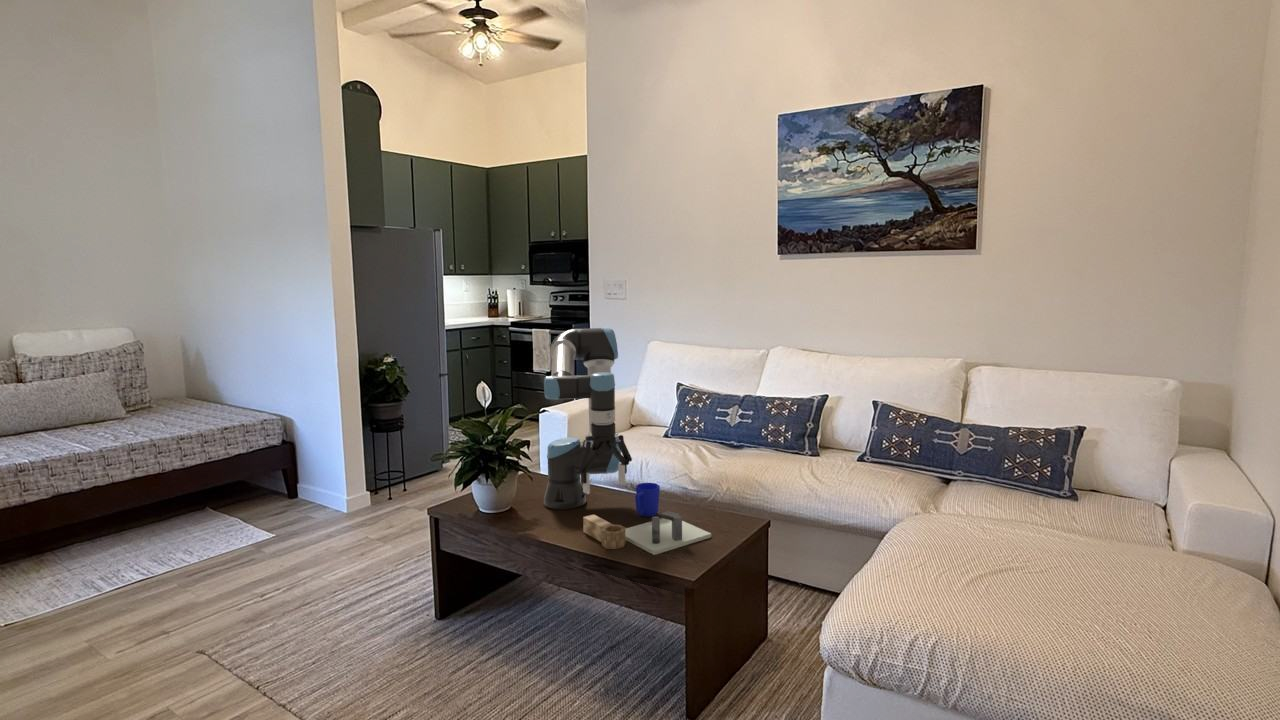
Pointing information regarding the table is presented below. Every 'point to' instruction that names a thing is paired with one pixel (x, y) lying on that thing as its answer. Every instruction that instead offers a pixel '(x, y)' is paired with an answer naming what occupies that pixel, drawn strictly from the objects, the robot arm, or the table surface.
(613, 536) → the link
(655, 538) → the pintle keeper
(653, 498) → the mug
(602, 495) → the table surface
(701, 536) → the board
